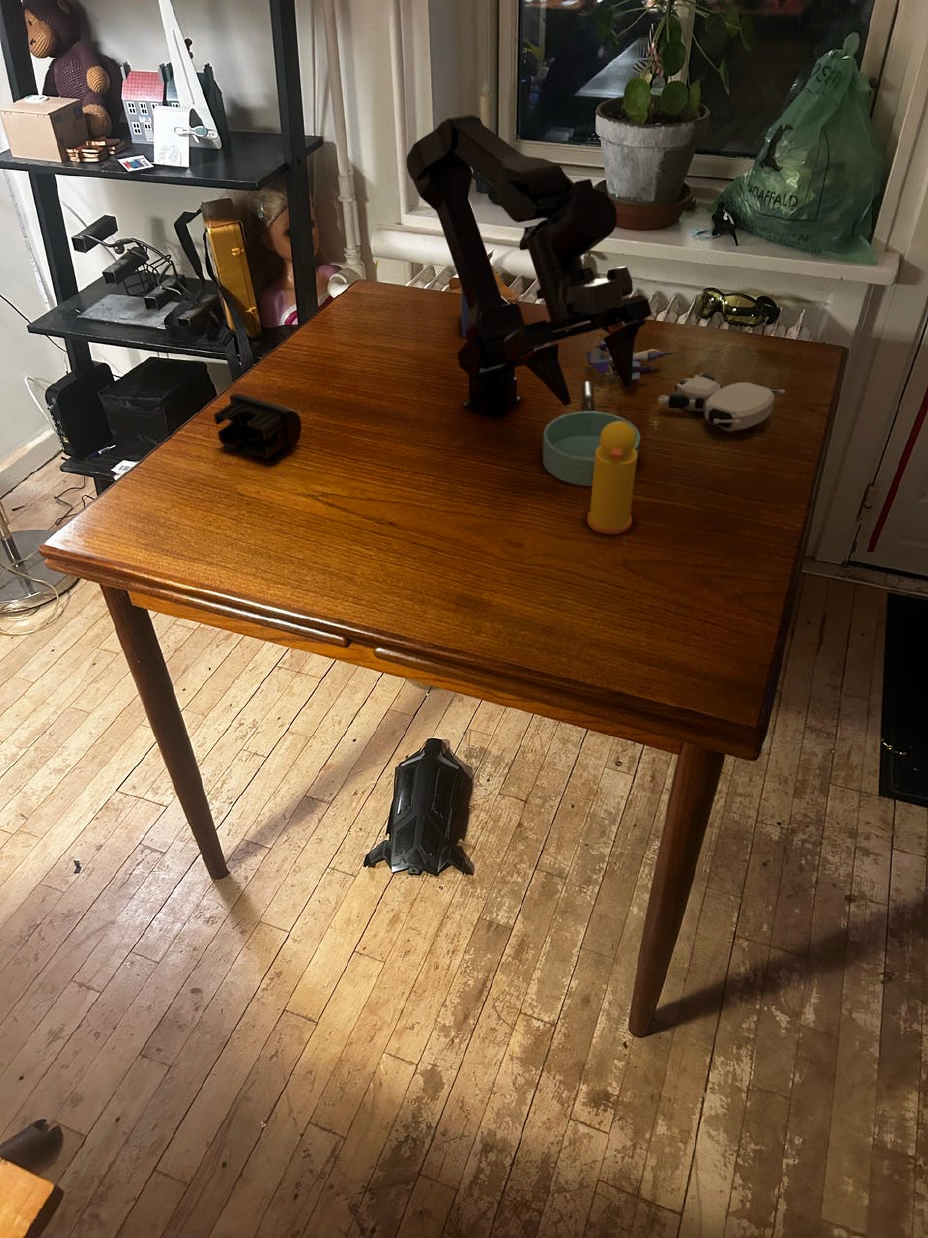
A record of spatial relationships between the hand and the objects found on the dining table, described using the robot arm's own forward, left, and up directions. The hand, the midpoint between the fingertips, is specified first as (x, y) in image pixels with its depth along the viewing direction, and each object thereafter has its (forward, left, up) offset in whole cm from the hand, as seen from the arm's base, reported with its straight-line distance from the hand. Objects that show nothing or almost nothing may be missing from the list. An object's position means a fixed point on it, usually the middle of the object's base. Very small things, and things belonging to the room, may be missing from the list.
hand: (598, 395), depth 115 cm
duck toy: (+6, -6, -13) cm, 16 cm away
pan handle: (-9, +15, -11) cm, 21 cm away
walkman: (-41, +33, -14) cm, 54 cm away
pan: (-3, +6, -13) cm, 15 cm away
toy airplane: (-10, +32, -14) cm, 36 cm away
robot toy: (+7, +27, -14) cm, 31 cm away
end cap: (-44, -16, -14) cm, 49 cm away
